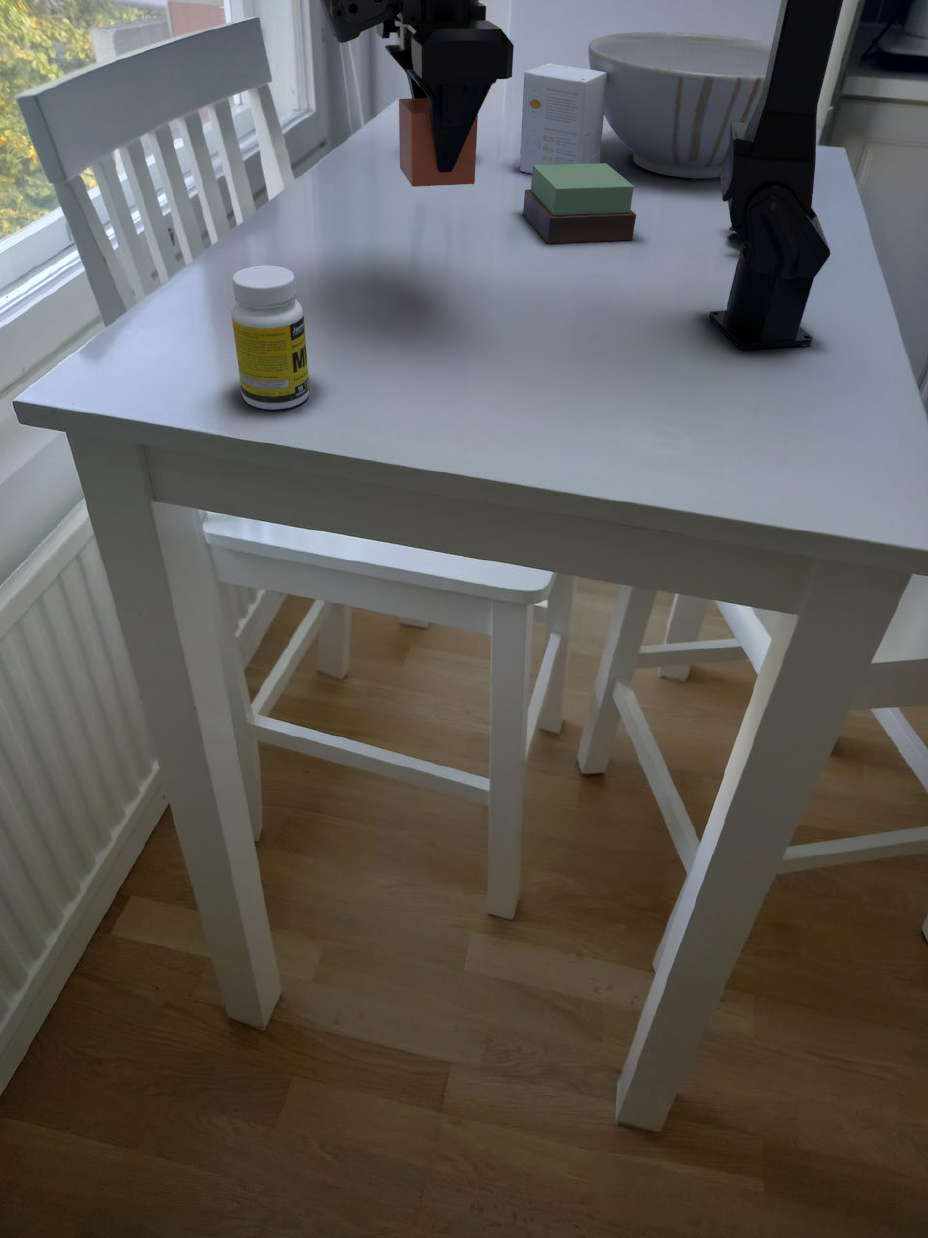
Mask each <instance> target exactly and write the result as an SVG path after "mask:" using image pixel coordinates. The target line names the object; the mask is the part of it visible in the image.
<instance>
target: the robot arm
mask: <svg viewBox="0 0 928 1238" xmlns="http://www.w3.org/2000/svg"><path fill="white" fill-rule="evenodd" d="M319 1H320V4H321V6H322V9H323V12H324V15H325V17H326V18H325V19H326V21H327V23H328V26H329V29H330V31H331V33H332V36H333V37H335V39H336V41H337V42H338V43H339V44H343V43H347V42H350V41H354V40H355V39H357V38H359V37H360V35H361V33H362V32H365V31H367V30H369V29H372V28H374V27H375V30H376V31H375V32H376V34H377V35H378V36H379V37H380V38H381V39H390V38H391V37H390V36H391V34H395V44H387V45H386V44H385V46H384V48H385V50H386V52H387V53H388V54H389V55H390V56H391V57H392V58H393V59H394V61H395V62H396V63H397V64H398V65H399V66H400V68H401V69H402V70H403V71H404V73H405V74H406V78H407V82H408V86H409V91H410V95H411V99H414V98H427V99H428V107H429V114H430V121H431V129H432V136H433V143H434V150H435V157H436V163H437V169H438V171H439V172H441V173H442V172H451V171H453V169H454V166H455V164H456V162H457V159H458V157H459V155H460V153H461V150H462V148H463V146H464V143H465V141H466V139H467V137H468V134H469V132H470V130H471V127H472V125H473V123H474V121H475V119H476V117H477V114H478V115H479V112H480V110H481V108H482V106H483V104H484V102H485V100H486V98H487V96H488V94H489V92H490V90H491V87H492V86H493V85H494V84H496V83H497V80H508V79H511V78H513V67H514V66H513V65H514V49H515V48H514V47H515V44H514V43H513V42H512V40H510V38H509V37H508V35H507V34H506V33H505V32H504V31H503V29H502V28H501V27H499V26H497V25H496V24H494V23H493V22H491V21H490V20H487V6H486V5H485V4H483V3H481V2H480V0H319ZM843 3H844V0H781V1H780V4H779V5H780V6H779V9H778V15H777V20H776V23H775V29H774V34H773V39H772V48H771V53H770V57H769V62H768V67H767V72H766V77H765V81H764V86H763V91H762V94H761V97H760V99H759V102H758V104H757V106H756V108H755V111H754V113H753V115H752V117H751V119H750V122H749V124H745V123H741V122H737V121H731V122H730V141H729V154H728V157H727V160H726V164H725V165H724V167H723V169H722V171H721V172H720V174H719V176H720V177H719V182H720V184H719V185H720V191H721V199H722V201H723V202H727V207H728V213H729V220H730V224H731V226H732V227H733V229H734V230H735V231H734V232H735V234H736V235H737V236H738V237H739V239H741V240H742V241H744V243H742V244H741V248H740V252H739V257H738V260H737V263H736V266H735V270H734V275H733V279H732V283H731V287H730V291H729V296H728V300H727V304H726V310H713V311H710V312H709V314H708V319H709V320H710V321H711V322H712V323H713V324H714V325H715V326H716V327H717V328H718V329H719V330H720V331H721V332H722V333H723V334H724V335H725V336H726V337H727V338H729V340H730V341H732V342H733V343H734V344H735V345H736V347H738V348H740V349H744V350H746V349H747V350H749V349H750V350H751V349H761V348H762V349H765V348H777V347H779V348H780V347H794V346H808V345H811V344H812V343H813V340H814V337H813V335H811V334H809V333H808V332H807V331H806V330H805V329H803V328H802V327H801V324H802V320H803V318H804V313H805V310H806V307H807V304H808V300H809V297H810V293H811V290H812V286H813V284H814V280H815V277H817V275H818V274H819V272H820V271H821V269H822V268H823V266H824V265H825V264H826V262H827V260H828V259H829V258H830V256H831V249H830V246H829V244H828V241H827V238H826V236H825V233H824V230H823V228H822V225H821V223H820V220H819V217H818V215H817V213H816V212H815V210H814V209H813V207H812V206H813V196H814V186H815V185H814V184H815V175H816V174H815V173H816V164H817V163H816V161H817V160H816V159H817V125H818V124H817V121H818V119H817V118H818V105H819V101H820V97H821V94H822V88H823V84H824V81H825V77H826V73H827V68H828V65H829V61H830V56H831V52H832V48H833V44H834V40H835V37H836V36H835V35H836V33H837V28H838V24H839V20H840V15H841V12H842V8H843Z"/></svg>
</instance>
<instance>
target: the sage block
mask: <svg viewBox="0 0 928 1238" xmlns="http://www.w3.org/2000/svg"><path fill="white" fill-rule="evenodd" d="M634 189H635V186H634V185H633V184H632V183H631V182H629V181H628V180H627V179H626V178H625V177H624V176H622V175H621V174H620V173H618V172H617V171H616V170H615V169H614V168H613V167H612V166H610V165H609V164H608V163H606V162H605V163H602V162H599V163H596V164H554V165H533V171H532V173H531V186H530V190H531V191H532V192H533V193H534V194H535V196H536V197H537V198H538V199H539V200H540V201H541V202H542V203H543V204H544V205H545V206H546V208H547V209H548V210H549V211H550V212H551V213H552V214H553V215H579V214H608V213H630V210H632V201H633V195H634Z"/></svg>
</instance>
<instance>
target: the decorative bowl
mask: <svg viewBox="0 0 928 1238" xmlns="http://www.w3.org/2000/svg"><path fill="white" fill-rule="evenodd" d="M772 43H773V42H772ZM772 43H771V42H766V41H760V40H755V39H749V38H743V37H734V36H726V35H718V34H709V33H697V32H696V33H695V32H678V31H674V32H673V31H634V32H620V33H612V34H607V35H602V36H599V37H596V38H594V39H592V40H590V42H589V44H588V46H587V47H588V49H587V50H588V51H587V53H588V62H589V70H596V71H602V72H607V73H608V77H607V88H606V99H605V108H604V118H605V119H606V122H607V124H608V125H609V127H610V129H611V130H612V131H613V132H614V134H615V135H616V136H617V137H618V138H619V140H620V141H621V142H622V143H624V144H625V145H626V146H627V147H628V148H629V149H630V150H631V151H632V152H633V162H634V163H635V164H636V165H637V166H639V167H640V168H642V169H644V170H646V171H649V172H652V173H655V174H659V175H663V176H669V177H674V178H685V179H715V178H720V176H719V174H720V172H721V171H722V169H723V167H724V165H725V164H726V160H727V157H728V154H729V141H730V122H731V121H737V122H741V123H745V124H749V122H750V119H751V117H752V115H753V113H754V111H755V108H756V106H757V104H758V102H759V99H760V97H761V94H762V91H763V86H764V81H765V77H766V72H767V67H768V62H769V57H770V53H771V48H772Z"/></svg>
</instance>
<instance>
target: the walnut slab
mask: <svg viewBox="0 0 928 1238" xmlns="http://www.w3.org/2000/svg"><path fill="white" fill-rule="evenodd" d="M523 196H524V197H523V209H522V210H523V211H522V215H523V216H524V217H525V218H526V220H527V221H528V222H529V223H530V225H532V227H533V228H534V229H535V230H536V231H537V233H538V234H539V235H540V236H541V238H543V240H544V241H545V242H546V244H568V243H569V244H570V243H593V242H594V243H595V242H596V243H597V242H618V241H632V240H633V238H634V231H635V225H636V218H637V214H636V213H635V212H634V211H633V210H632V209H630V213H608V214H579V215H553V214H552V213H551V212H550V211H549V210H548V209H547V208H546V206H545V205H544V204H543V203H542V202H541V201H540V200H539V199H538V198H537V197H536V196H535V194H534V193H533V192H532V191H531V189H525V190H524V195H523Z"/></svg>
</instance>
